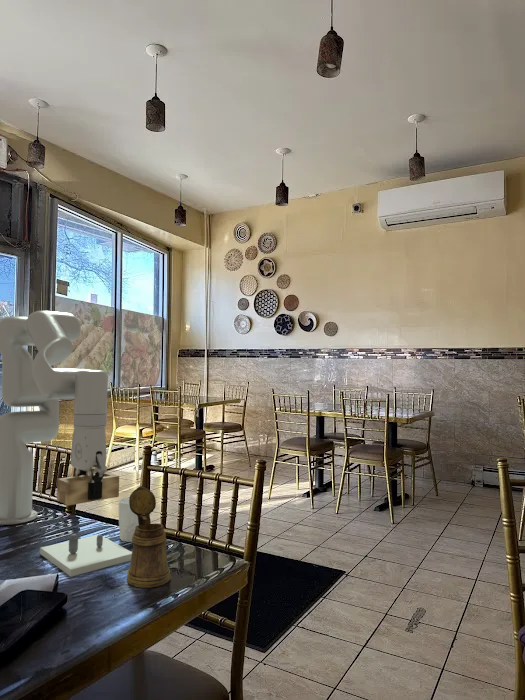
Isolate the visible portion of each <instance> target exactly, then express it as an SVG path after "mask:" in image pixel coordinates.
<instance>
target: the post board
mask: <svg viewBox="0 0 525 700" xmlns="http://www.w3.org/2000/svg"><path fill="white" fill-rule="evenodd" d="M39 549H40V550H39V551H40V553H39V555H41V556H43V558H45V559H46V560H48V562H50V563H52V564H53V565H54V566H56V567H57V568H58V569H59V570H61V571H62V572H64V573H65V574H67V575H68V576H69V577H70V578H73V577H75V576H79V575H82V574H86V573H89V572H93V571H97V570H101V569H103V568H108V567H112V566H115V565H119V564H123V563H126V562H131V556H132V550H131V551H130V550H129V549H127V548H126V547H123V546H122V545H120V544H117V543H116V542H114V541H112V540H110V539H109V538H107V537H105V536H103V534H96V535H90V536H87V537H81V538H79V536H78V535H77V534H76V533H72V534H71V535H69V537H68V541H64V542H60V543H59V542H58V543H55V544H52V545H51V544H50V545H46V546H41V547H40V548H39Z"/></svg>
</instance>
